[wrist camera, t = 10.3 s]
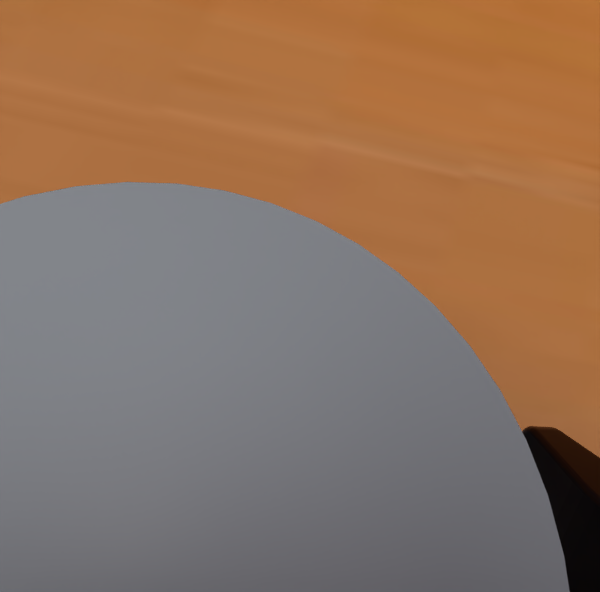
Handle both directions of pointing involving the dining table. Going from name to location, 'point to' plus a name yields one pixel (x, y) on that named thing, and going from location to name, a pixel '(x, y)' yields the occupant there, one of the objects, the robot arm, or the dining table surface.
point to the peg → (244, 410)
